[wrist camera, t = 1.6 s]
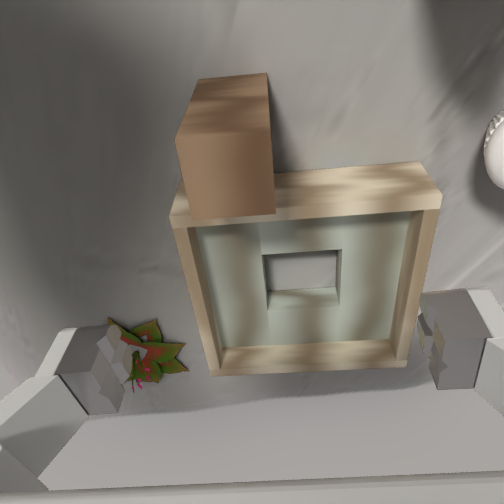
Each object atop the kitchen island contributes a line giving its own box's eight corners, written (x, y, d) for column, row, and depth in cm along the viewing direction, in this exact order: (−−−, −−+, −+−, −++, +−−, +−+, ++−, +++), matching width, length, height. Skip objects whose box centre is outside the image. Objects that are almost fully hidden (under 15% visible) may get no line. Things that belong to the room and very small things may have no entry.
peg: (209, 144, 30) (192, 220, 22) (198, 79, 27) (174, 140, 19) (271, 138, 30) (276, 214, 22) (266, 72, 27) (270, 131, 19)
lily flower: (207, 371, 48) (203, 408, 44) (113, 387, 50) (102, 423, 46) (165, 300, 40) (156, 336, 37) (58, 322, 43) (40, 359, 39)
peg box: (215, 335, 43) (211, 376, 39) (180, 181, 32) (169, 216, 28) (392, 325, 42) (405, 366, 38) (418, 161, 30) (442, 195, 27)
